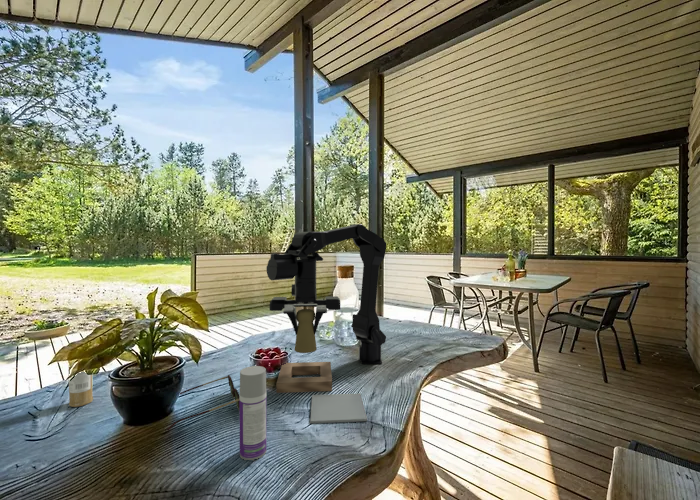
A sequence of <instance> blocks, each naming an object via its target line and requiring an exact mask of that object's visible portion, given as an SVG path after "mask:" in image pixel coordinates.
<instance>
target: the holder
mask: <svg viewBox="0 0 700 500" xmlns="http://www.w3.org/2000/svg"><path fill="white" fill-rule="evenodd" d="M285 363H286V364H284V365H281V367H280V370H279V374H278V378H277V380H276V384H275V385H276V390H275V391H276V393H277V394H281V393H311V392H332V391H333V376H332V365H331V364H332V363H331V361H312V362H311V361H309V362H307V361H306V362H285ZM308 375H309V376H308ZM312 375H313V376H312ZM314 375H315V376H314ZM316 375H317V376H316ZM318 375H320V376H318ZM293 376H304V377H293ZM306 376H307V377H306ZM311 376H312V377H311Z"/></svg>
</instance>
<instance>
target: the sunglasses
mask: <svg viewBox="0 0 700 500" xmlns="http://www.w3.org/2000/svg"><path fill="white" fill-rule="evenodd" d="M225 379H227V380H228V381H227V382H228V386H229V387H230V388H229V389H230V394H231V397H232V399H233V400H232V401H229V402H226V403H224V404H222V405H220V406H216V407H214V408H211V409H208V410H204V411H202V412H199V413H196V414H192V415H189V416H187V417H183V418H180V419H178V420H176V421H174V422H173V423H172V424H171V425H170V426H168V428H167V429H166V430H168V431H169V430H170V429H172V427H174V426H175V425H176V424H178V423H180V422H182V421H185V420H188V419H191V418H194V417H197V416H200V415H203V414H206V413H209V412H212V411H216V410H218V409H220V408H223V407H226V406H228V405H231V404H234V403H235V405H236V408H237V410H238V411H239V398H240V392H239V391H238V390H237V389H238V388H235V385H234V382H233V378H232V376H231V375H229V374H228V375H227V376H223V377H220V378H217V379H215V380H211V381H207V382H205V383H203V384H201V385H197V386H193V387H191V388H188V389H186V390H183V391H182V392H179V393H180V395H182V394H184V393H185V394H186V393H187V392H190V391H192V390H195V389H198V388H201V387H204V386H206V385H210V384H211V383H215V382H217V381H221V380H225Z"/></svg>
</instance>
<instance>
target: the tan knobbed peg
mask: <svg viewBox="0 0 700 500" xmlns="http://www.w3.org/2000/svg"><path fill="white" fill-rule="evenodd" d="M315 315H316V311H315V310H313V309H311V308H301V309H298V310H297V311H296V319H297V325H298V327H297V328H298V332H297V335H296V334H295V344H294V351H295V352H296V353H300V354H310V353H314V352H316V351H317V350H318V349H317V340H316V334H315V335H314V322H315Z"/></svg>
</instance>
